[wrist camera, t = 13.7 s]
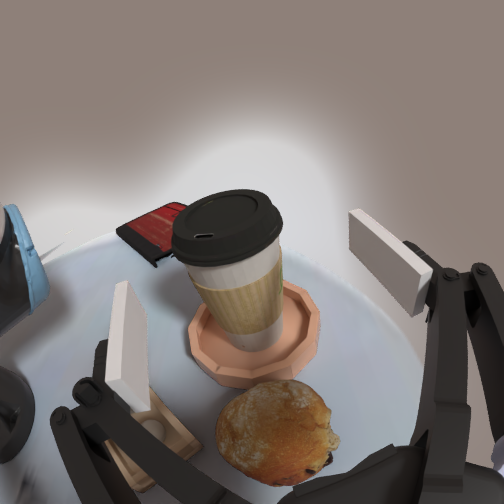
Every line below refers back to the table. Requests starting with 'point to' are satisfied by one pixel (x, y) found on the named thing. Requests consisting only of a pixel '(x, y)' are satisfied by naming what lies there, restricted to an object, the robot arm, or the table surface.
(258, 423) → the bread roll
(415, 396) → the table surface
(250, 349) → the coffee cup
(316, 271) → the table surface
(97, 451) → the robot arm
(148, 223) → the binder
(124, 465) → the pebble tray
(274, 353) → the dish
